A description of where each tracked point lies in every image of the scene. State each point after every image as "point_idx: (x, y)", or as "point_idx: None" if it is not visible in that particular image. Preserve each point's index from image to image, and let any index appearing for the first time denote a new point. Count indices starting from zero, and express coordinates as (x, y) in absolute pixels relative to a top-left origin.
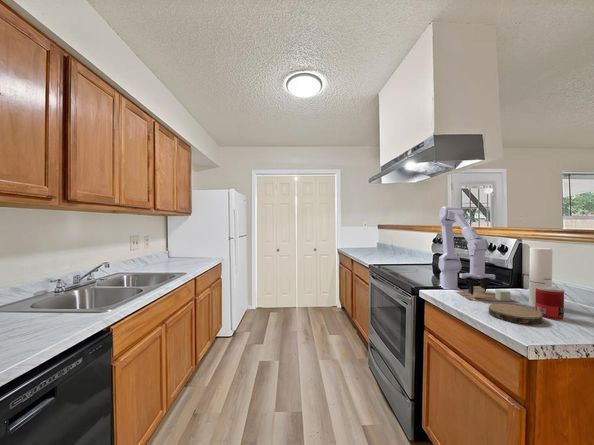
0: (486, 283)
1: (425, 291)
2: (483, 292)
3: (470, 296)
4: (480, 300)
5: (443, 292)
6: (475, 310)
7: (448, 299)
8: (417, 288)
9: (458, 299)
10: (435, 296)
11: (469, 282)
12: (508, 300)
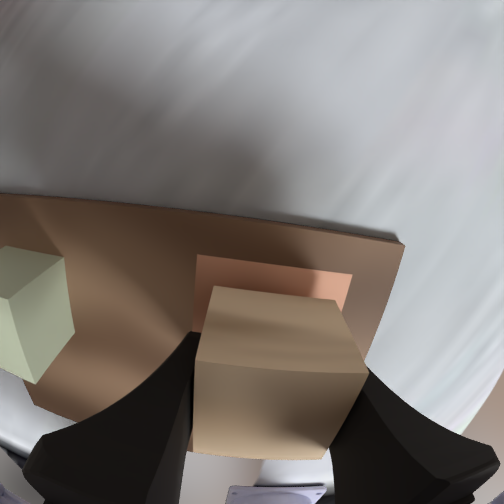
0: (138, 443)
1: None
2: (224, 327)
3: None
4: (286, 251)
5: None
6: (485, 19)
7: (496, 301)
8: None
9: (438, 310)
10: (501, 357)
11: (471, 440)
12: (13, 248)
